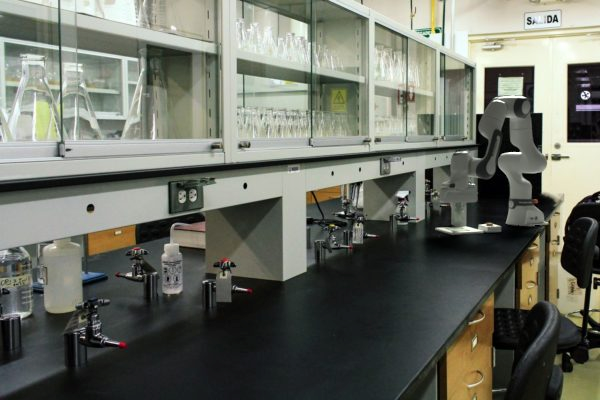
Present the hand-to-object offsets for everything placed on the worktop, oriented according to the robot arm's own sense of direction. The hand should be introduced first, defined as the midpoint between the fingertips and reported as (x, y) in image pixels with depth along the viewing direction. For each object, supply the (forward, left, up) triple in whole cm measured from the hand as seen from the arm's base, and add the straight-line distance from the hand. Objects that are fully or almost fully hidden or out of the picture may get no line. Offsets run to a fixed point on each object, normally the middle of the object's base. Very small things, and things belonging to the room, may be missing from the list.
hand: (458, 211), depth 309 cm
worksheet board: (-1, 0, -10) cm, 10 cm away
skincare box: (-11, -17, -11) cm, 23 cm away
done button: (-16, +4, -9) cm, 19 cm away
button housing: (-16, +4, -10) cm, 19 cm away
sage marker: (0, 0, -5) cm, 5 cm away
